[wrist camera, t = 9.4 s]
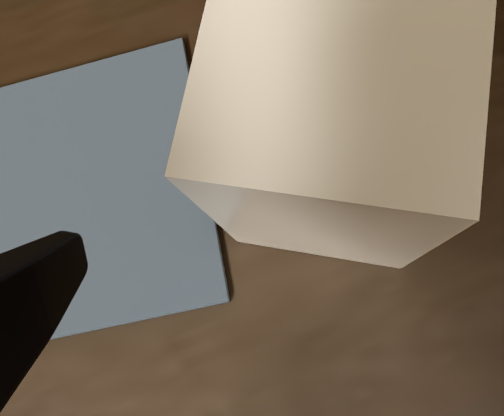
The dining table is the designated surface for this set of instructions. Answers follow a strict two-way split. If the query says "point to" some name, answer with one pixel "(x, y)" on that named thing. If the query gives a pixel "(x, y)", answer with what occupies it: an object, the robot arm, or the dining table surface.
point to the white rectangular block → (338, 123)
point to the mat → (109, 186)
